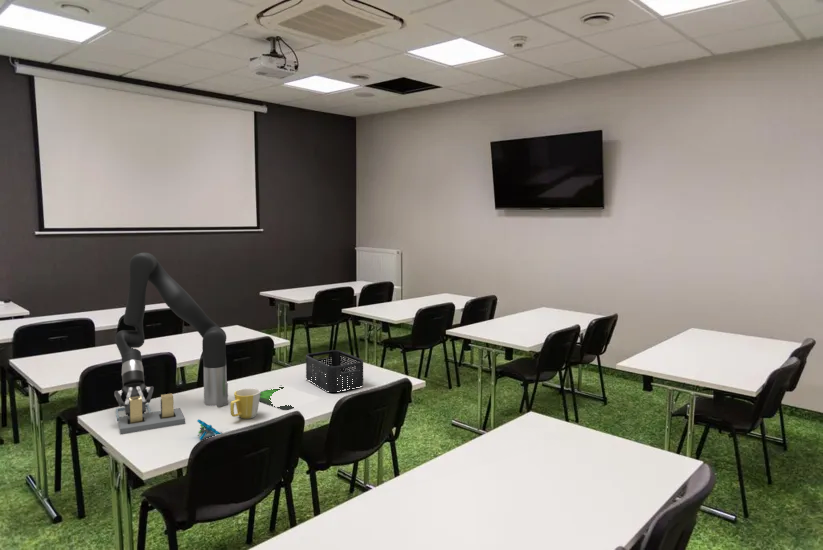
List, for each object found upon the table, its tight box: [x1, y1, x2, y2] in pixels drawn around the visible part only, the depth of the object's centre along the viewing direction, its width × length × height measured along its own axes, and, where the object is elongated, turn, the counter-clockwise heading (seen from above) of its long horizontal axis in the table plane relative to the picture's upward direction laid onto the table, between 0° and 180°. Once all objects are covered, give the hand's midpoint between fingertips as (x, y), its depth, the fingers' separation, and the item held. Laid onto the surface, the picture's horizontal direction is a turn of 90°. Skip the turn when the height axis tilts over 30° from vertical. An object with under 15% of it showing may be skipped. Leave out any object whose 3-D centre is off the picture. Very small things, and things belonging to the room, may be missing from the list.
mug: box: [229, 387, 261, 420], centre depth 214 cm, size 14×10×10 cm
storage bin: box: [305, 349, 364, 393], centre depth 261 cm, size 29×19×13 cm
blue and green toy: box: [196, 419, 222, 441], centre depth 194 cm, size 11×6×10 cm
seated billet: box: [160, 393, 175, 419], centre depth 206 cm, size 4×4×10 cm
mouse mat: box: [259, 387, 295, 411], centre depth 240 cm, size 27×22×1 cm
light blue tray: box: [115, 403, 152, 422], centre depth 213 cm, size 12×12×2 cm
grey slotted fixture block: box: [118, 407, 186, 435], centre depth 204 cm, size 22×13×3 cm, turn 121°
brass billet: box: [129, 396, 143, 424], centre depth 201 cm, size 4×4×10 cm
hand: (136, 413), depth 199 cm, fingers closed on brass billet, 4 cm apart
